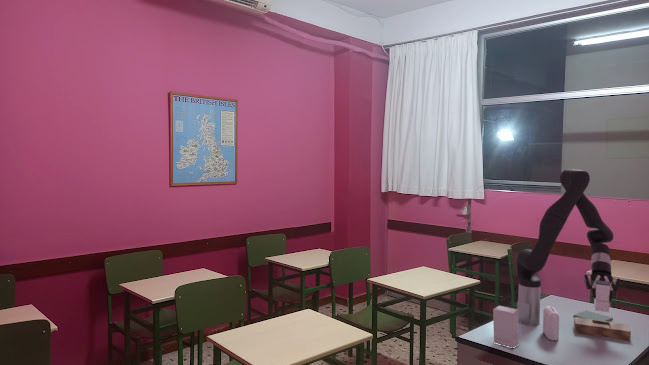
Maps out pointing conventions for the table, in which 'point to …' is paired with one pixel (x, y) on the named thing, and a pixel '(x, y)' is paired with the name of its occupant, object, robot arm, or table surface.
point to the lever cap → (602, 296)
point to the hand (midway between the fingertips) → (602, 298)
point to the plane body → (602, 328)
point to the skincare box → (506, 326)
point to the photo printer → (551, 323)
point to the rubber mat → (593, 316)
